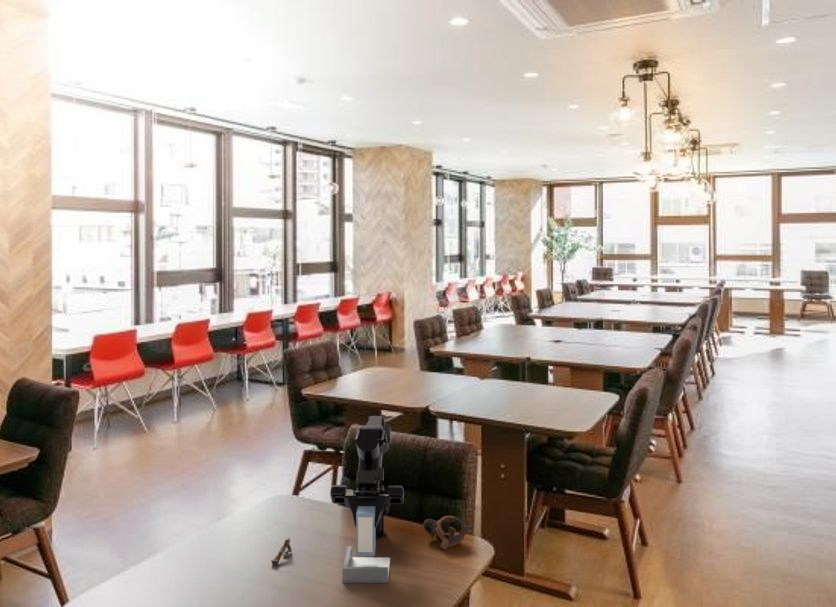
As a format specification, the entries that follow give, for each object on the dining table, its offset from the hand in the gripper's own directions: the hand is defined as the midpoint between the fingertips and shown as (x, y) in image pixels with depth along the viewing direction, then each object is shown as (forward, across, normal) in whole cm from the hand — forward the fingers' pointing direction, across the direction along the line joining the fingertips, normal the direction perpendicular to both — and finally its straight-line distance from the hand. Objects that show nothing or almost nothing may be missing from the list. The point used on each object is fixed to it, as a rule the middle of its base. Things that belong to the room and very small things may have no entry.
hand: (365, 526), depth 167 cm
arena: (+8, 0, +7) cm, 11 cm away
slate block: (+4, 0, +6) cm, 7 cm away
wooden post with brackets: (+5, -22, +11) cm, 25 cm away
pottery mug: (-3, +20, +19) cm, 28 cm away
